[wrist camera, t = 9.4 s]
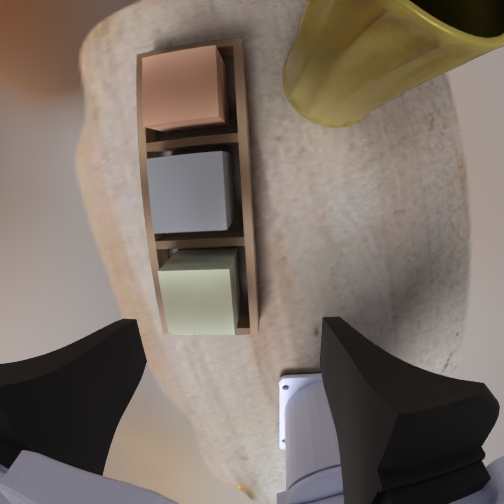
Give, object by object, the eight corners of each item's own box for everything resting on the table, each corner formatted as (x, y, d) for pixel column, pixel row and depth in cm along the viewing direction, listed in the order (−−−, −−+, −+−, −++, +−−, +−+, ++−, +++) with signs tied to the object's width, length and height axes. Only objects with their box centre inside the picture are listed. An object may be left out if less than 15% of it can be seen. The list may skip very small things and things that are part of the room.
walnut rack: (259, 319, 21) (257, 351, 17) (171, 320, 22) (154, 349, 18) (244, 49, 16) (238, 23, 12) (148, 63, 17) (123, 44, 13)
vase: (369, 43, 16) (487, -77, 2) (381, 129, 17) (556, 94, 4) (278, 41, 16) (288, -130, 2) (287, 129, 18) (334, 40, 4)
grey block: (235, 216, 20) (227, 230, 16) (174, 220, 20) (153, 233, 16) (231, 153, 18) (222, 151, 15) (169, 159, 19) (146, 158, 15)
